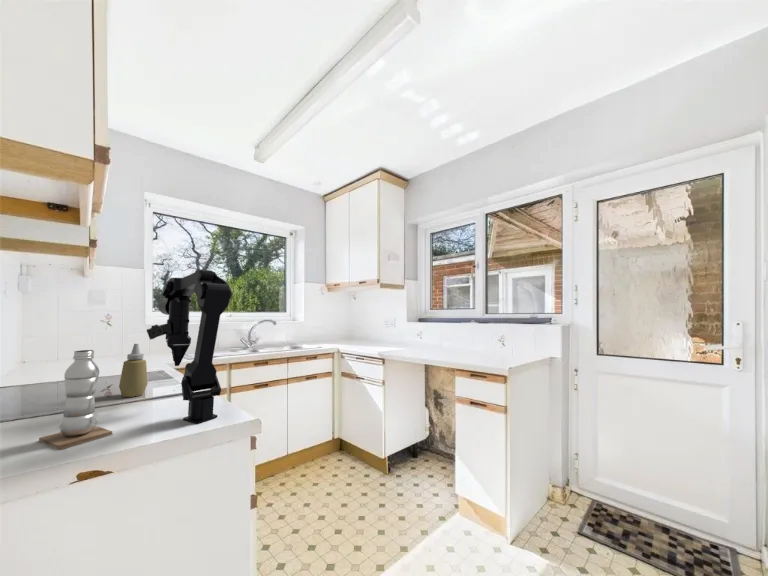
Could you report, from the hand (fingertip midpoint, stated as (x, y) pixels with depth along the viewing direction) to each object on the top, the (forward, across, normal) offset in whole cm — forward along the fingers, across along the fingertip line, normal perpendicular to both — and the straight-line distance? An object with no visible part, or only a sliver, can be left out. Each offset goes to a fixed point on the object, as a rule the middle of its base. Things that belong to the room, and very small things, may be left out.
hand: (176, 363), depth 109 cm
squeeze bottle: (+13, -18, -11) cm, 25 cm away
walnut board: (+13, +20, -21) cm, 32 cm away
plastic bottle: (+12, +20, -21) cm, 31 cm away
